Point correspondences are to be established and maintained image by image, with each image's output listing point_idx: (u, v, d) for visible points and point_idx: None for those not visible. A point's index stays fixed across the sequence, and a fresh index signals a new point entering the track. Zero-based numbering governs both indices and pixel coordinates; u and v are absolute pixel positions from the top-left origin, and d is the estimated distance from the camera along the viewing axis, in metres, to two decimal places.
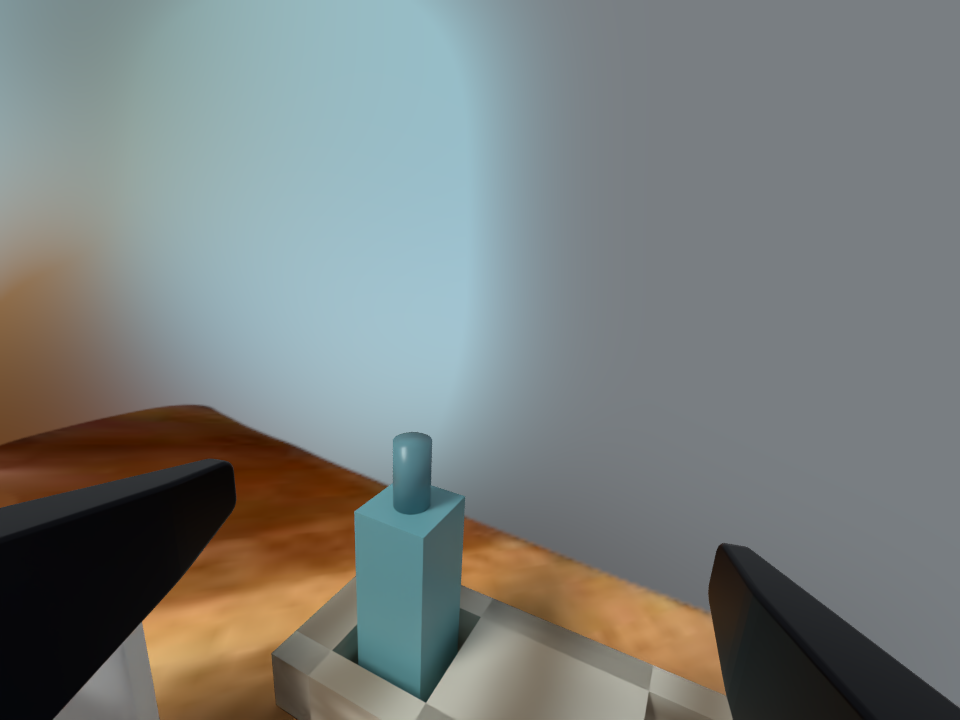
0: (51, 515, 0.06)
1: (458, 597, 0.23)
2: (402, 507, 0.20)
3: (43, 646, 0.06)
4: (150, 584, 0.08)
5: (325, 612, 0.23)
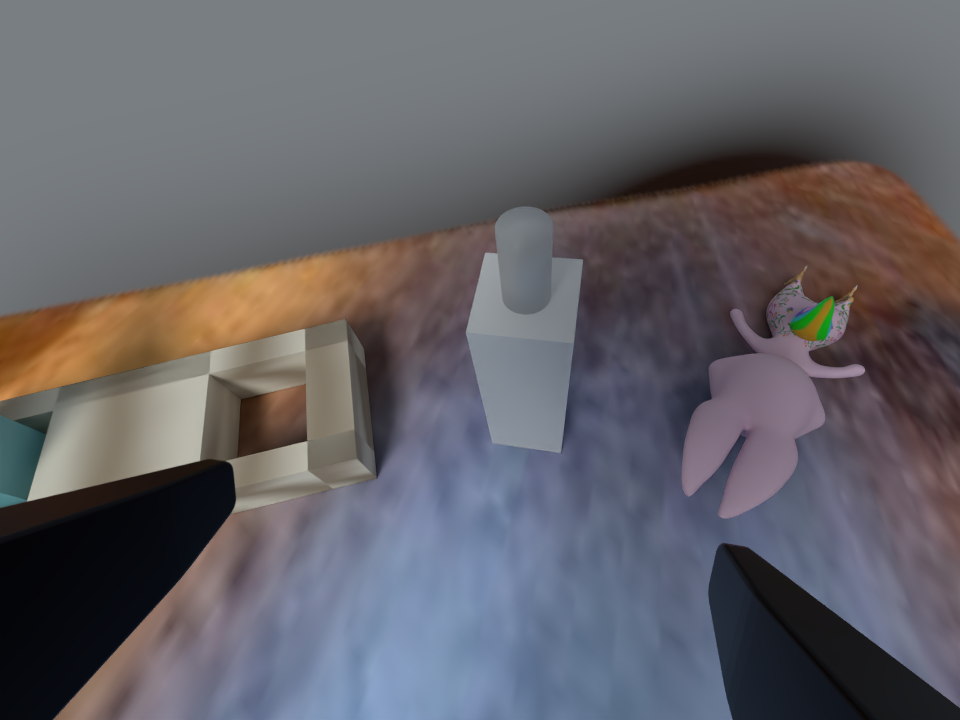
0: (51, 515, 0.06)
1: (0, 419, 0.22)
2: None
3: (43, 646, 0.06)
4: (150, 584, 0.08)
5: None
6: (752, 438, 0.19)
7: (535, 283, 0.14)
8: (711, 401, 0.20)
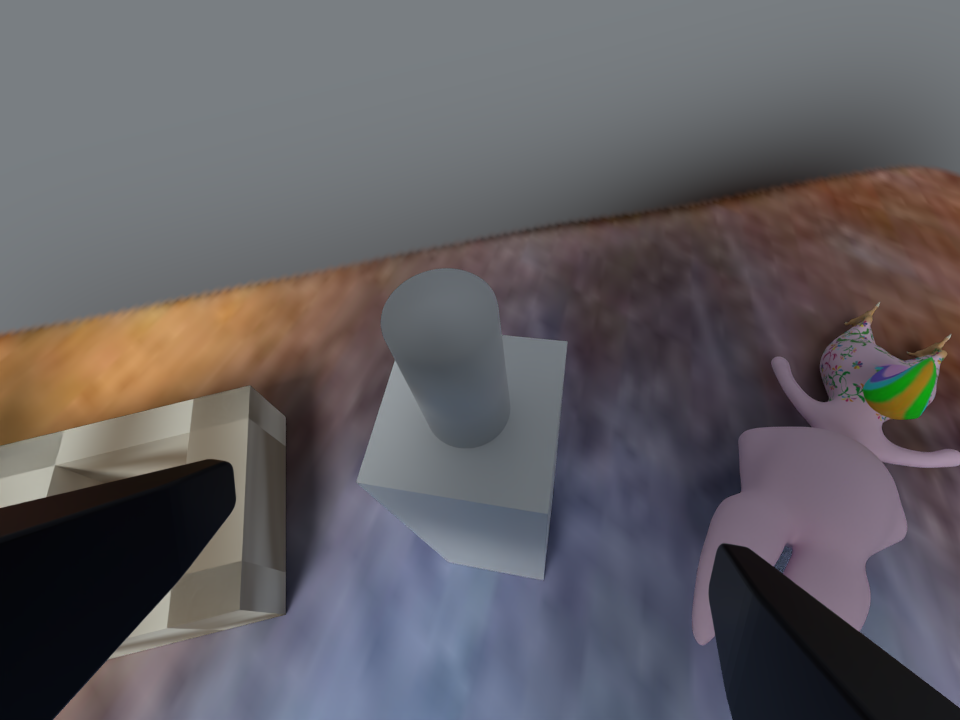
0: (51, 515, 0.06)
1: None
2: None
3: (43, 646, 0.06)
4: (150, 584, 0.08)
5: None
6: (801, 561, 0.13)
7: (472, 411, 0.07)
8: (742, 497, 0.14)
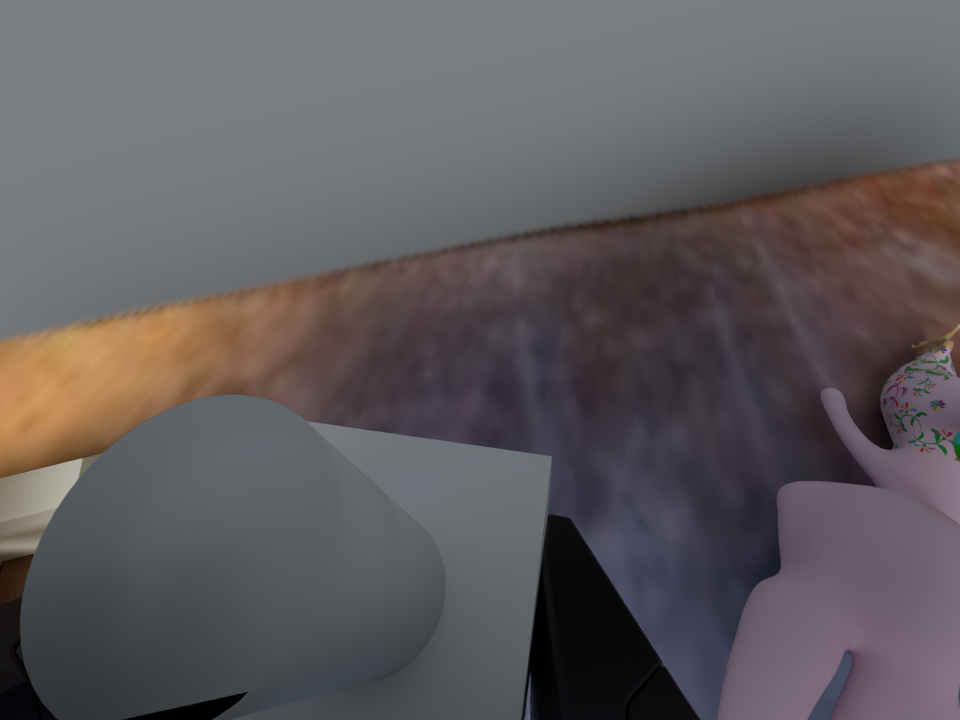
0: None
1: None
2: None
3: None
4: None
5: None
6: (867, 683, 0.10)
7: None
8: (785, 584, 0.10)
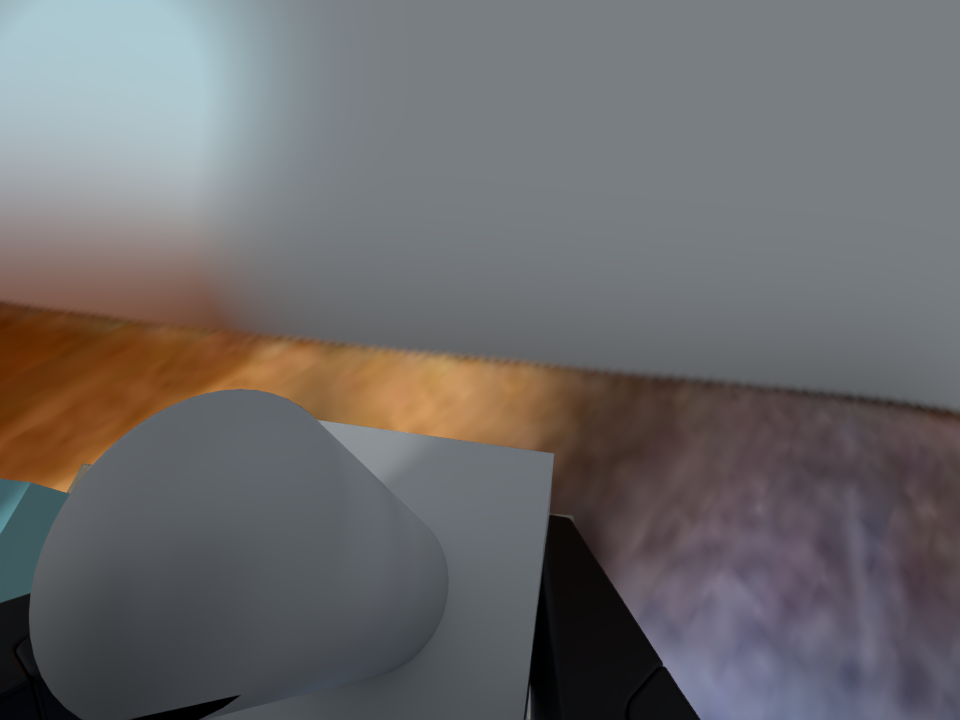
0: None
1: None
2: None
3: None
4: None
5: None
6: None
7: None
8: None
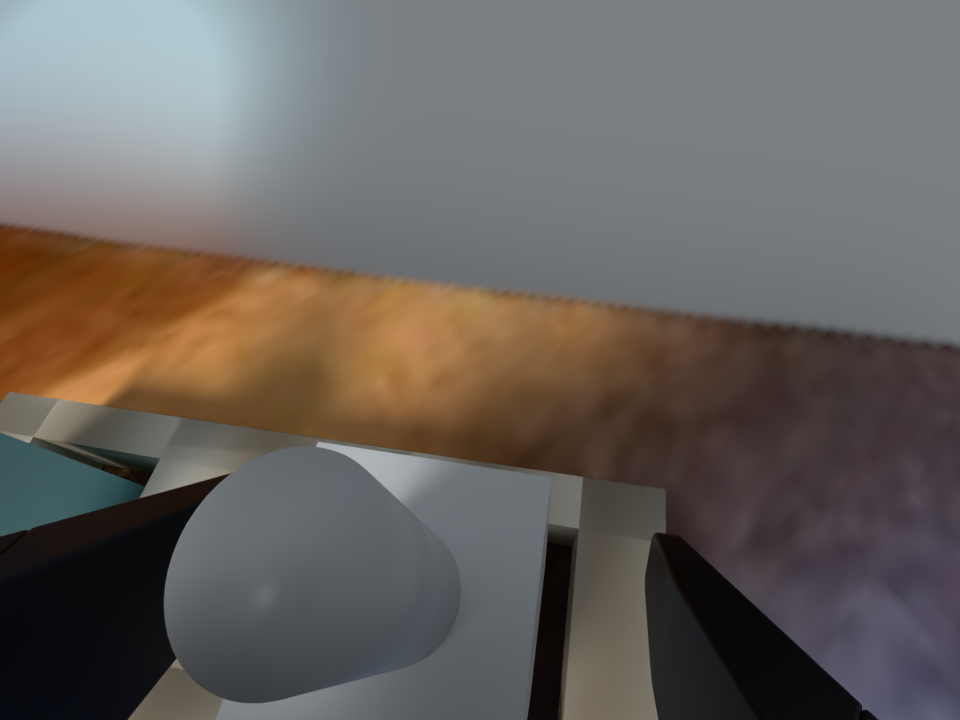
0: (113, 528, 0.06)
1: (78, 469, 0.13)
2: None
3: (105, 663, 0.06)
4: None
5: None
6: None
7: None
8: None
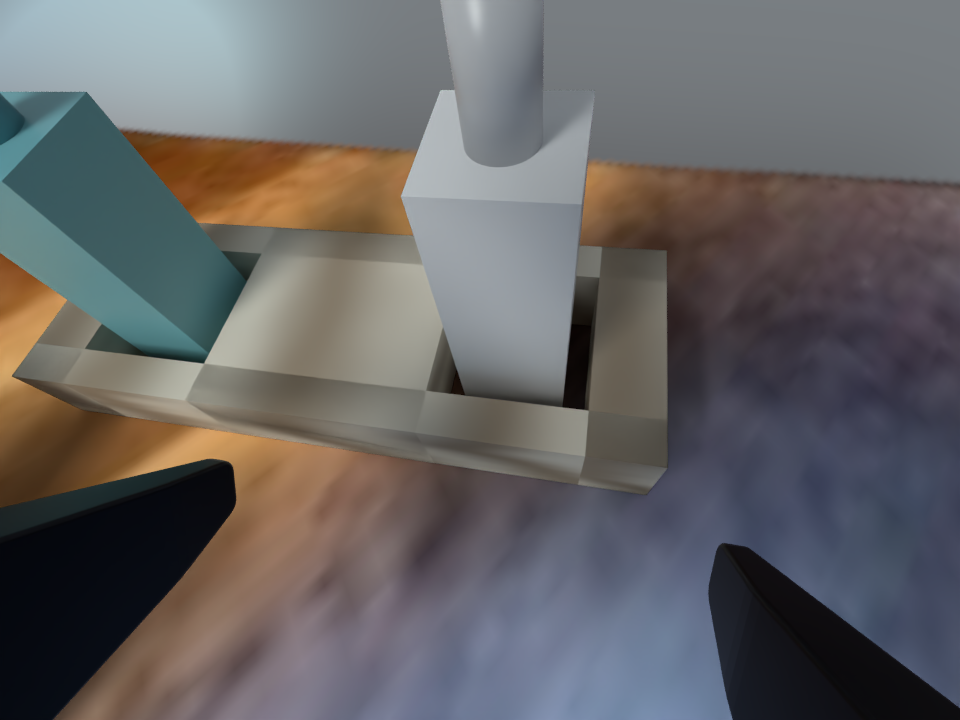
0: (51, 515, 0.06)
1: (207, 242, 0.17)
2: None
3: (43, 646, 0.06)
4: (150, 584, 0.08)
5: (67, 311, 0.18)
6: None
7: (514, 90, 0.08)
8: None
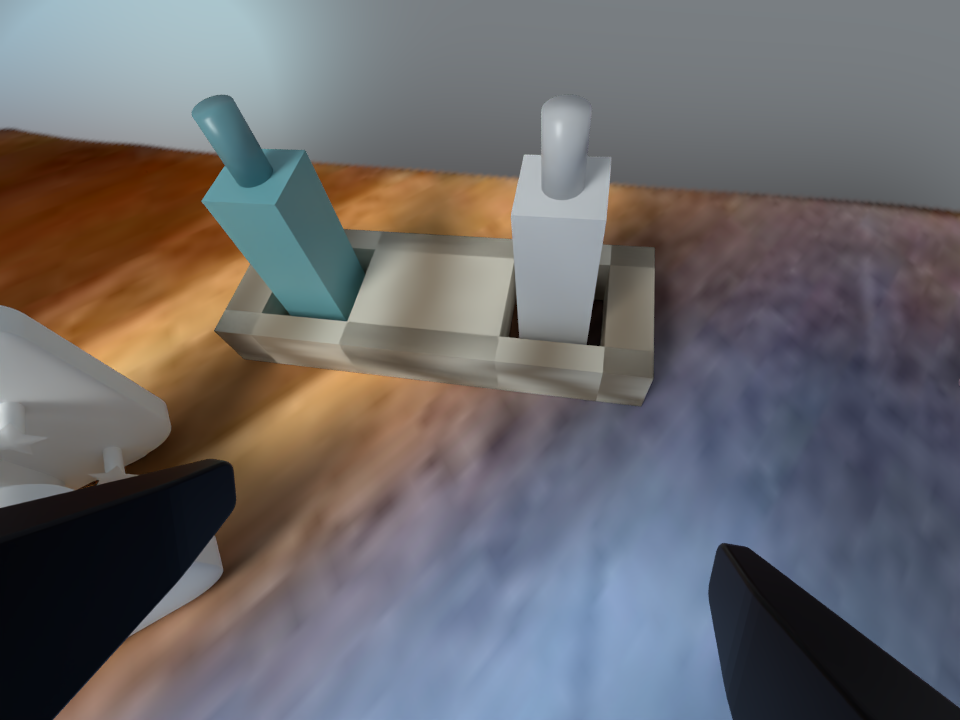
0: (51, 515, 0.06)
1: (346, 241, 0.25)
2: (244, 181, 0.20)
3: (43, 646, 0.06)
4: (150, 584, 0.08)
5: (243, 288, 0.26)
6: None
7: (574, 164, 0.16)
8: None
